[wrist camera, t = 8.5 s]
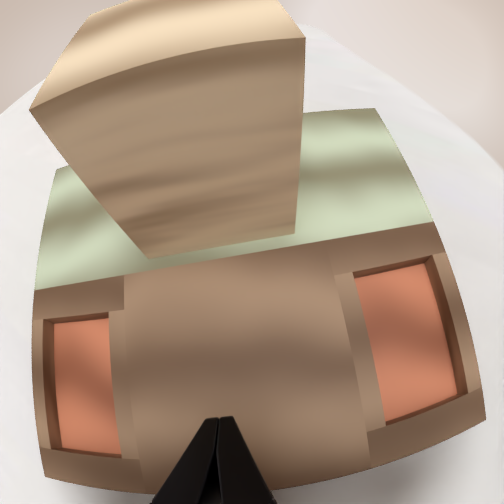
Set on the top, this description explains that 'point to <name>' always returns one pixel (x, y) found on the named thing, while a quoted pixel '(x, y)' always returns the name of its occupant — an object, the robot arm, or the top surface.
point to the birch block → (183, 119)
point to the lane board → (256, 330)
